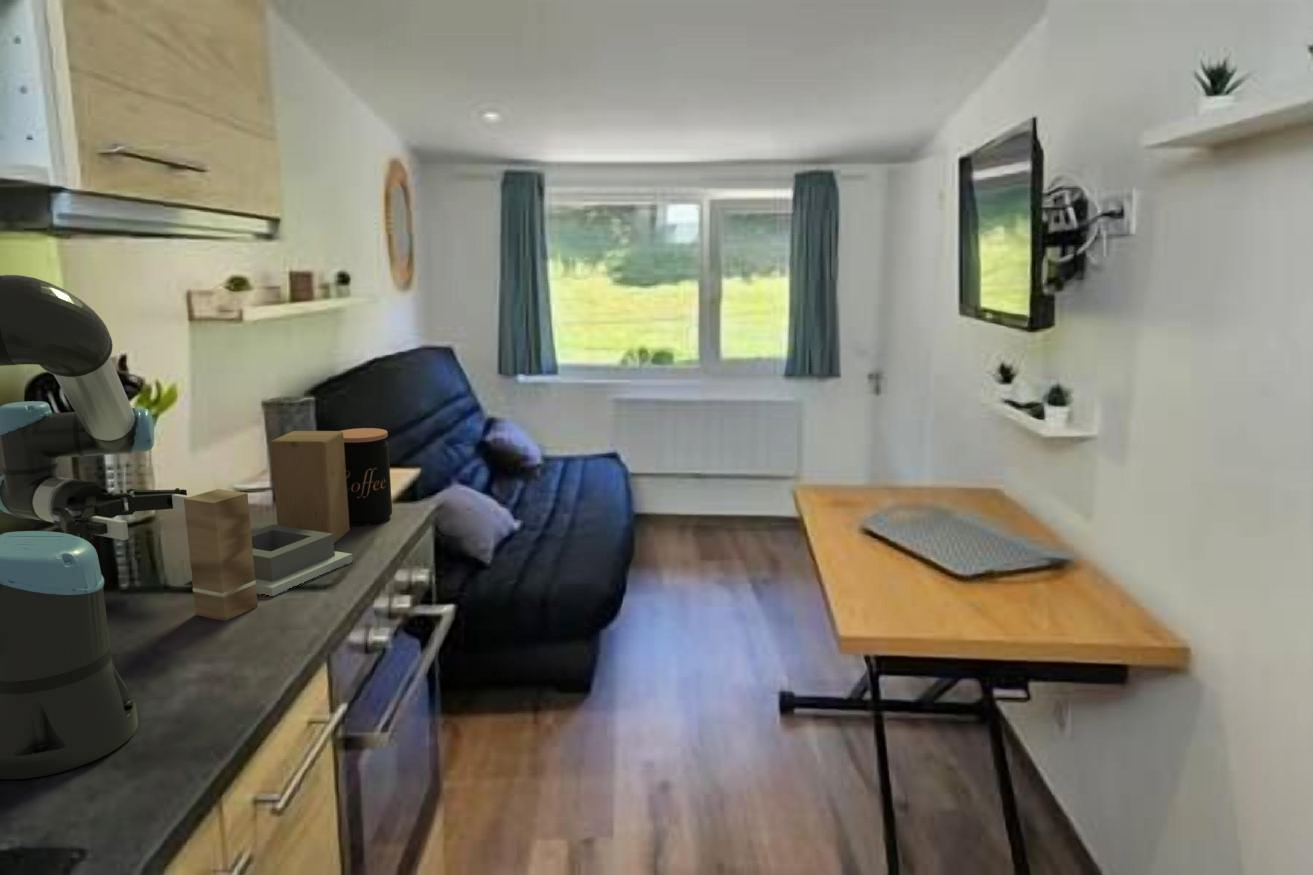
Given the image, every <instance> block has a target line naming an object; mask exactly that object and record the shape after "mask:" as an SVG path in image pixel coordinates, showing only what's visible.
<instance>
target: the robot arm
mask: <svg viewBox="0 0 1313 875" xmlns="http://www.w3.org/2000/svg"><path fill="white" fill-rule="evenodd" d="M112 353H113V341H112V337H111V335H110V331H109V330H108V327H107V325H106V323H105V322H104V320H103V319H102V318H101V316H99V315H98V313H96V311H95V310H94V309H92V308H91V307H90V306H89V305H88V304H86V303H85V302H84V301H83V300H81V298H79V297H77V296H75V295H74V294H72V293H70V292H69V291H67V290H65V289H64V288H62V287H59V286H57V285H55V284H53V283H52V282H51V283H50V282H49V281H45V280H43V279H39V278H36V277H31V276H25V275H19V274H18V275H17V274H4V275H0V366H2V367H3V366H18V365H19V366H21V365H37V366H38V365H39V366H40V367H41V368H42V369H43V370H44V371H46V372H47V373H50V374H52V375H53V376H54V378H55V380H56V381H57V383H58V385H59V386H60V388H61V391H62V392H63V393H64V395H65V397H66V398H67V400H68V402H69V404H70V406H71V407H72V409H73V410H74V411H69V412H66V411H65V412H53V411H52V409H51V406H50V404H49V403H48V402H46V401H40V400H39V401H38V400H37V401H35V400H32V401H29V400H28V401H16V402H9V403H6V404H3V405H1V406H0V457H1V463H2V470H3V471H2V475H1V476H0V511H2V512H3V513H6V514H8V515H12V516H14V517H18V518H21V519H27V520H28V519H31V520H37V521H44V522H49V523H53V525H54V526H57V527H59V528H61V530H62V531H63V532H57V531H49V530H45V531H44V530H25V531H22V530H21V531H9V532H8V531H7V532H4V533H1V534H0V779H1V780H23V779H24V780H26V779H34V778H40V777H47V776H50V775H55V774H59V773H63V772H67V771H69V770H73V769H76V768H79V767H82V766H84V765H87V764H89V763H92V762H94V761H97V760H99V759H101V758H103V757H105V756H107V755H109V754H111V753H112V752H114V751H115V750H117V749H118V748H120V747H121V746H123V745H124V744H125V743H127V742H128V741H129V740H130V739H131V738H132V737H133V735H134V734H135V733H136V731H137V729H138V727H139V721H138V714H137V713H138V712H137V711H138V710H137V706H136V705H137V704H136V703H135V700H134V699H133V697H132V695H131V694H130V692H129V690H128V688H127V686H126V685H125V683H124V681H123V679H122V678H121V676H120V674H119V672H118V671H117V669H116V667H115V665H114V663H113V659H112V650H111V644H110V634H109V627H108V626H109V625H108V618H107V610H106V601H105V594H104V586H105V578H104V575H103V574H102V571H101V566H100V560H99V557H98V556H99V555H98V553H97V550H96V548H95V546H93V545H92V543H90V542H89V541H90V540H92V539H93V535H94V536H100V537H106V538H110V539H116V540H120V541H126V540H129V539H130V537H129V529H128V528H129V527H128V522H127V520H122V519H118V518H116V517H118V516H119V517H120V516H131V515H134V514H135V512H144V511H145V512H146V511H147V512H148V511H161V510H162V511H163V510H173V512H178V513H184V514H185V505H184V498H188V497H191V496H192V495H188V491H187V489H183V488H182V489H180V488H179V487H177V488H174V489H133V488H129V489H127V490H126V492H121V493H116V492H114V491H113V492H112V491H111V492H109V491H108V490H107V489H106V488H105V487H104V486H102V485H101V484H100V483H97V482H94V481H88V480H81V479H77V478H69V477H63V476H59V470H58V468H59V465H58V464H59V463H58V459H61V458H62V459H63V458H64V459H65V458H75V457H90V456H91V457H92V456H93V457H95V456H109V455H123V454H126V455H132V454H134V453H140V452H141V453H142V452H149V451H151V450H152V449H153V447H154V445H155V427H154V420H153V416H152V412H151V411H150V410H149V409H147V408H136V407H133V406H132V405H131V403H130V401H129V397H128V395H127V394H126V392H125V388H124V385H123V384H122V381H121V379H120V376H119V374H118V372H117V369H116V367H115V365H114V363H113V360H112V358H111V356H112ZM126 503H127V508H128V509H125V507H126V506H125V504H126ZM115 518H116V519H115ZM78 534H82V537H80V536H78Z"/></svg>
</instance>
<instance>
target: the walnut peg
mask: <svg viewBox="0 0 1313 875" xmlns="http://www.w3.org/2000/svg"><path fill="white" fill-rule="evenodd" d="M190 496H191V497H188V498H184V505H185V513H184V514H185V515H184V516H185V524H186V525H185V526H186V530H187V531H186V532H187V534H186V535H187V542H188V551H189V562H190V572H191V573H192V581H191V582H192V593H193V599H194V600H193V601H194V609H195V610H194V611H195V616H200V617H205V618H210V619H215V620H219V621H223V622H226V621H228V620H230V619H233V618H236V617H238V616H240V615H242V614H245V613H247V612H249V611H251V610H253V608H254V607H256V608H258V598H257V597H258V596H257V595H258V594H256V580H255V572H254V561H253V550H252V538H251V532H252V530H251V518H250V508H249V498H248V497H249V496H248V492H242V491H235V490H227V489H219V488H217V489H213V490H210V491H207V492H203V493H199V494H196V495H190ZM254 609H255V608H254Z"/></svg>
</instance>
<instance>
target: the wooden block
mask: <svg viewBox="0 0 1313 875" xmlns="http://www.w3.org/2000/svg"><path fill="white" fill-rule="evenodd" d="M341 431H342V430H292V431H291V432H288V433H286V434H283V435H281V436H279V437H277V438H275V439H273V440H271V441H270V451H271V464H272V473H273V474H272V477H273V486H274V488H273V489H274V498H275V499H274V500H275V511H276V513H275V514H276V525H279V526H285V527H292V528H298V529H305V530H312V531H318V532H325V533H331V534H333V536H334V544H335V543H337V541H339V540H340V539H341V538H342V537H344V536H345V535H346V534H347V533H348V532H350V528H351V527H350V526H351V525H349V511H348V497H347V482H346V467H345V452H344V437H343V432H341Z"/></svg>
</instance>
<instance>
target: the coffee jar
mask: <svg viewBox="0 0 1313 875" xmlns="http://www.w3.org/2000/svg"><path fill="white" fill-rule="evenodd" d="M340 431H341V432H343V437H344V452H345V467H346V482H347V497H348V511H349V526H354V527H356V526H358V527H362V526H363V527H364V526H372V525H377V524H381V523H384V522H387V521H388V520H389V519H390V517H391V515H392V513H393V506H392V504H393V503H392V486H391V485H392V484H391V466H390V455H389V454H390V451H389V450H390V449H389V442H388V441H387V440H386V439H387V437H388V430H386V429H382V428H373V427H369V428H368V427H363V428H360V427H359V428H350V429H342V430H340Z"/></svg>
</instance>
